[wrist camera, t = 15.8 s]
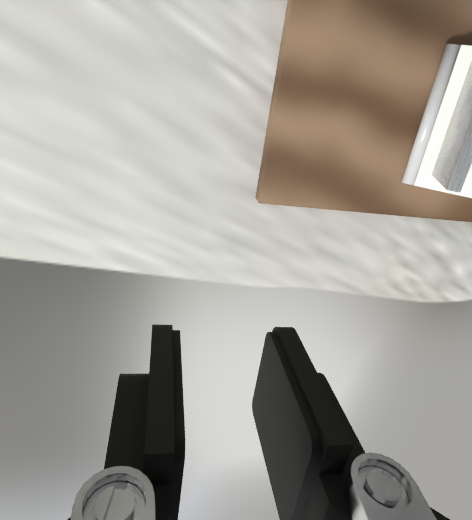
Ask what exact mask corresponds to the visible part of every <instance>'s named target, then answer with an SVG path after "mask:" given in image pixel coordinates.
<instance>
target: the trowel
mask: <svg viewBox="0 0 472 520" xmlns="http://www.w3.org/2000/svg"><path fill="white" fill-rule="evenodd" d="M471 164H472V61H471V64H470V67H469V70H468V73H467V75H466V78H465V81H464V84H463V87H462V90H461V93H460V95H459V98H458V101H457V104H456V107H455V110H454V112H453V115H452V118H451V121H450V124H449V127H448V129H447V132H446V135H445V138H444V141H443V144H442V146H441V149H440V152H439V155H438V158H437V161H436V164H435V166H434V169H433V172H432V176H433V177H434V178H435V179H436V180H437V181H438V182H439V183H440V184H441V185H442V186H443V187H444V188H445V189H446V190H449V191H454V192H459V193H460V192H461V190H462V187H463V185H464V182H465V179H466V177H467V174H468V172H469V169H470V167H471Z"/></svg>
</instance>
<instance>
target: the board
mask: <svg viewBox="0 0 472 520" xmlns="http://www.w3.org/2000/svg"><path fill="white" fill-rule="evenodd" d="M446 44H456V45H469V46H472V0H288V3H287V9H286V15H285V22H284V28H283V34H282V40H281V46H280V52H279V58H278V64H277V70H276V77H275V83H274V89H273V95H272V101H271V107H270V113H269V119H268V125H267V132H266V138H265V144H264V150H263V156H262V162H261V168H260V174H259V180H258V187H257V193H256V199H257V200H258V202H259V203H262V204H274V205H285V206H296V207H308V208H319V209H330V210H342V211H353V212H364V213H375V214H387V215H398V216H409V217H421V218H432V219H443V220H455V221H466V222H472V198H469V197H464V196H460V195H455V194H450V193H446V192H441V191H437V190H432V189H428V188H423V187H419V186H414V185H410V184H405V183H402V179H403V176H404V173H405V170H406V166H407V163H408V160H409V157H410V154H411V151H412V148H413V145H414V142H415V139H416V135H417V132H418V129H419V126H420V123H421V120H422V117H423V114H424V111H425V108H426V104H427V101H428V98H429V95H430V92H431V89H432V86H433V83H434V80H435V77H436V73H437V70H438V67H439V64H440V61H441V58H442V55H443V52H444V49H445V46H446Z"/></svg>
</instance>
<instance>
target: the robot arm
mask: <svg viewBox="0 0 472 520" xmlns="http://www.w3.org/2000/svg"><path fill="white" fill-rule="evenodd" d="M252 409H253V416H254V419H255V423H256V427H257V431H258V435H259V439H260V443H261V447H262V451H263V455H264V459H265V463H266V467H267V471H268V474H269V479H270V483H271V486H272V490H273V494H274V498H275V502H276V506H277V510H278V514H279V518H280V520H450V519H448V518H446V517H445V516H443V515H442V514H440V513H439V512H437V511H435V510H434V509H432V508H431V507H429V505H428V503H427V502H426V500H425V498H424V496H423V494H422V493H421V491H420V489H419V487H418V485H417V484H416V482H415V480H414V479H413V478H412V477H411V475H410V473H409V472H408V471H407V470H406V469H405V468H404V467H402V466H401V465H400V464H399V463H397V462H396V461H394V460H393V459H391V458H389V457H386V456H384V455H382V454H377V453H365V451H364V450H363V448H362V446H361V444H360V442H359V440H358V438H357V436H356V434H355V433H354V431H353V429H352V427H351V425H350V423H349V421H348V419H347V417H346V415H345V413H344V412H343V410H342V408H341V406H340V404H339V402H338V400H337V398H336V396H335V394H334V393H333V391H332V389H331V387H330V385H329V383H328V381H327V379H326V378H325V376H324V375H323V374H321V373H317V372H316V370H315V368H314V366H313V364H312V362H311V360H310V358H309V356H308V354H307V352H306V350H305V348H304V346H303V344H302V342H301V340H300V338H299V336H298V334H297V332H296V331H295V329H294V328H292V327H275V328H274V329H273V331H272V332H268V333H267V334H266V338H265V343H264V348H263V353H262V357H261V362H260V367H259V372H258V377H257V382H256V387H255V391H254V397H253V402H252ZM184 429H185V427H184V407H183V387H182V365H181V343H180V331H179V330H172V325H152V341H151V357H150V372H149V374H120V376H119V381H118V386H117V393H116V399H115V405H114V411H113V417H112V423H111V429H110V436H109V442H108V448H107V454H106V460H105V466H104V470H102V471H100V472H98V473H96V474H95V475H94V476H92V477H91V478H90V479H89V480H88V481H86V482H85V483H84V484H83V486H82V487H81V489H80V490H79V492H78V493H77V495H76V498H75V501H74V504H73V508H72V514H71V517H70V518H69V519H68V520H178V512H179V503H180V495H181V494H180V493H181V486H182V477H183V468H184V460H185V430H184Z"/></svg>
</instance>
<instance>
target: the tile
mask: <svg viewBox="0 0 472 520" xmlns="http://www.w3.org/2000/svg"><path fill="white" fill-rule="evenodd" d="M471 61H472V46H469V45H456V44H446V46H445V49H444V52H443V55H442V58H441V61H440V64H439V67H438V70H437V73H436V77H435V80H434V83H433V86H432V89H431V92H430V95H429V98H428V101H427V104H426V108H425V111H424V114H423V117H422V120H421V123H420V126H419V129H418V132H417V135H416V139H415V142H414V145H413V148H412V151H411V154H410V157H409V160H408V163H407V166H406V170H405V173H404V176H403V179H402V183H405V184H410V185H414V186H419V187H423V188H428V189H432V190H437V191H441V192H446V193H450V194H455V195H460V196H464V197H469V198H472V164H471V167H470V169H469V172H468V174H467V177H466V179H465V182H464V185H463V187H462V190H461V192H460V193H459V192H454V191H449V190H446V189H445V188H444V187H443V186H442V185H441V184H440V183H439V182H438V181H437V180H436V179H435V178H434V177H433V176H432V172H433V169H434V166H435V164H436V161H437V158H438V155H439V152H440V149H441V146H442V144H443V141H444V138H445V135H446V132H447V129H448V127H449V124H450V121H451V118H452V115H453V112H454V110H455V107H456V104H457V101H458V98H459V95H460V93H461V90H462V87H463V84H464V81H465V78H466V75H467V73H468V70H469V67H470V64H471Z"/></svg>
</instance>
